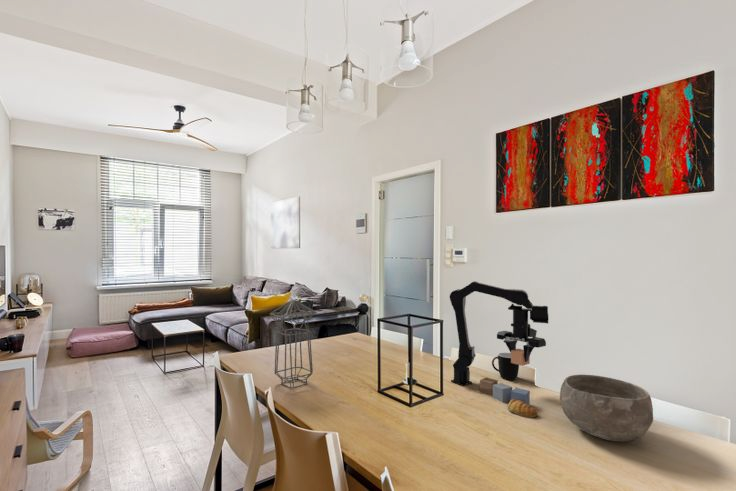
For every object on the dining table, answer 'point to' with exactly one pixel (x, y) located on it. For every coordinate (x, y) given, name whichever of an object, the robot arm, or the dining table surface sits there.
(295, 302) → the geometric lantern
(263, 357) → the dining table surface
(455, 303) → the robot arm
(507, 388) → the slate cube
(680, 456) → the dining table surface
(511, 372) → the mug
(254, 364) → the dining table surface
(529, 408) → the pastry
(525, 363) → the terracotta cube
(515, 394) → the blue cube
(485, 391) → the walnut cube
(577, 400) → the bowl
